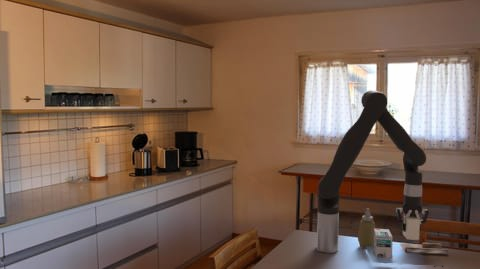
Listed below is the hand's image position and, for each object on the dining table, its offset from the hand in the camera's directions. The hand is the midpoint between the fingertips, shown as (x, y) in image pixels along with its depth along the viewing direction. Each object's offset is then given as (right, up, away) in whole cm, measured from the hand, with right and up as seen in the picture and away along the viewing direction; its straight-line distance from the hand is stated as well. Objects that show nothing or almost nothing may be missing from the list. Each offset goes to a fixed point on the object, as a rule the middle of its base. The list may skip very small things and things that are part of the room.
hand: (411, 231), depth 193 cm
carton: (0, -2, 0) cm, 3 cm away
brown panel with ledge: (+5, -9, -1) cm, 10 cm away
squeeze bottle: (-18, -9, +5) cm, 21 cm away
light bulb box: (-15, -10, -6) cm, 19 cm away
